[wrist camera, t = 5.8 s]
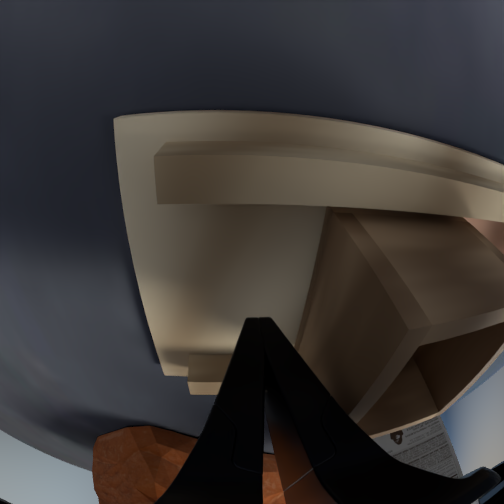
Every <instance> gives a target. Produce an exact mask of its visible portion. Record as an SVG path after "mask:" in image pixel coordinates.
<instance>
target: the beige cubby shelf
mask: <svg viewBox="0 0 504 504" xmlns="http://www.w3.org/2000/svg"><path fill="white" fill-rule="evenodd" d="M114 135H115V148H116V158H117V168H118V176H119V184H120V192H121V199H122V206H123V212H124V218H125V224H126V230H127V235H128V240H129V245H130V250H131V255H132V260H133V265H134V269H135V274H136V278H137V282H138V286H139V291H140V295H141V299H142V302H143V306H144V310H145V314H146V317H147V321H148V324H149V328H150V331H151V335H152V338H153V341H154V345H155V348H156V351H157V354H158V357H159V360H160V363H161V366H162V369H163V372H164V375H167V376H188V386H189V390H190V394H194V395H217V394H218V391H219V389H220V386H221V384H222V381H223V378H224V375H225V373H226V370H227V367H228V365H229V362H230V359H231V357H232V354H233V351H234V348H235V346H236V343H237V340H238V338H239V335H240V332H241V329H242V327H243V324H244V321H245V319H246V318H247V317H258V318H259V317H271V318H272V319H273V320H274V322H275V323H276V324H277V325H278V327H279V328H280V329H281V331H282V332H283V333H284V335H285V336H286V337H287V339H288V340H289V341H290V343H291V344H292V345H293V346H294V345H295V342H296V338H297V334H298V330H299V327H300V323H301V319H302V315H303V311H304V307H305V303H306V299H307V295H308V291H309V287H310V282H311V278H312V274H313V269H314V265H315V260H316V256H317V251H318V247H319V242H320V237H321V232H322V227H323V222H324V217H325V212H326V207H327V206H333V207H351V208H367V209H382V210H395V211H407V212H418V213H429V214H439V215H449V216H458V217H463V218H464V219H466V220H467V221H468V222H469V223H470V224H471V225H473V226H474V227H475V228H476V229H477V230H478V231H479V232H480V233H481V234H483V235H484V236H485V237H486V238H487V239H488V240H489V241H490V242H491V243H492V244H493V245H494V246H495V247H496V248H497V249H498V250H499V251H500V252H501V253H502V254H503V255H504V165H503V164H501V163H498V162H496V161H493V160H491V159H488V158H485V157H483V156H480V155H477V154H475V153H472V152H469V151H466V150H463V149H460V148H457V147H454V146H451V145H448V144H445V143H441V142H438V141H435V140H431V139H428V138H424V137H420V136H416V135H413V134H409V133H405V132H400V131H396V130H392V129H387V128H383V127H378V126H373V125H368V124H362V123H357V122H351V121H345V120H339V119H332V118H325V117H317V116H309V115H299V114H289V113H277V112H262V111H238V110H192V111H169V112H154V113H142V114H132V115H123V116H119V117H117V118H114Z"/></svg>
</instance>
